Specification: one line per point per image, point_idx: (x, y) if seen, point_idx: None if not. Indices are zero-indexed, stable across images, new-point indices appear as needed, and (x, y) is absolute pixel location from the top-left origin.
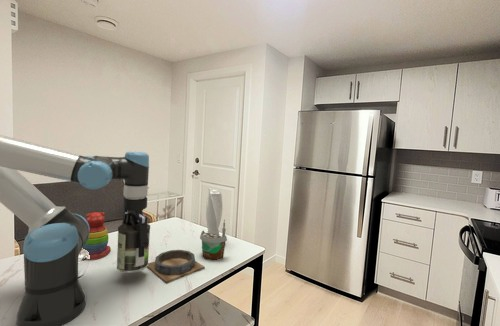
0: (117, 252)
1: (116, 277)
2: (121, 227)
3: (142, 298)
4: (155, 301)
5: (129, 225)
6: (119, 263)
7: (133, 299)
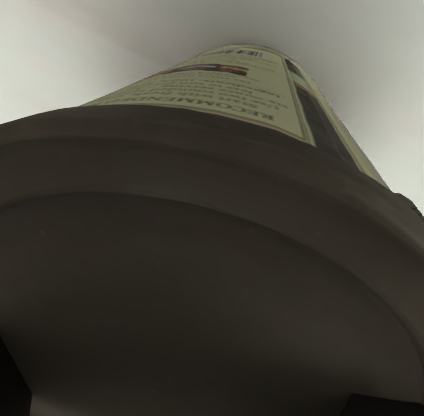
0: (273, 64)
1: (304, 61)
2: (318, 267)
3: (50, 71)
4: (9, 100)
5: (315, 405)
6: (218, 51)
7: (60, 36)
